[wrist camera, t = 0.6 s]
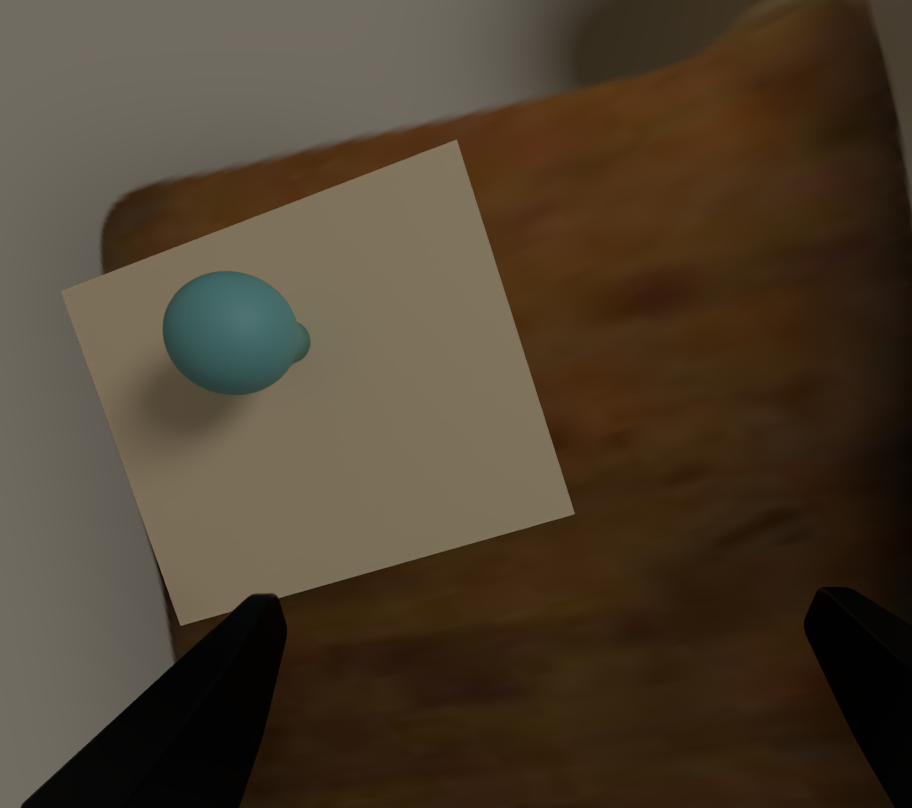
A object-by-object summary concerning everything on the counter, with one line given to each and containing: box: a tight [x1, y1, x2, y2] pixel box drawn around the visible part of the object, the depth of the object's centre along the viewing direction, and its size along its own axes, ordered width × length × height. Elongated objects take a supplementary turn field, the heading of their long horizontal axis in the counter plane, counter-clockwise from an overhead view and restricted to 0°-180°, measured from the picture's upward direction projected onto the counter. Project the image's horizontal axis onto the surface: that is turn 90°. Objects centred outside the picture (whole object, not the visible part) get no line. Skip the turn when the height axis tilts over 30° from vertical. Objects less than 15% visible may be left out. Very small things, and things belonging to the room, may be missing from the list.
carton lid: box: [61, 140, 575, 626], centre depth 14 cm, size 12×14×6 cm
